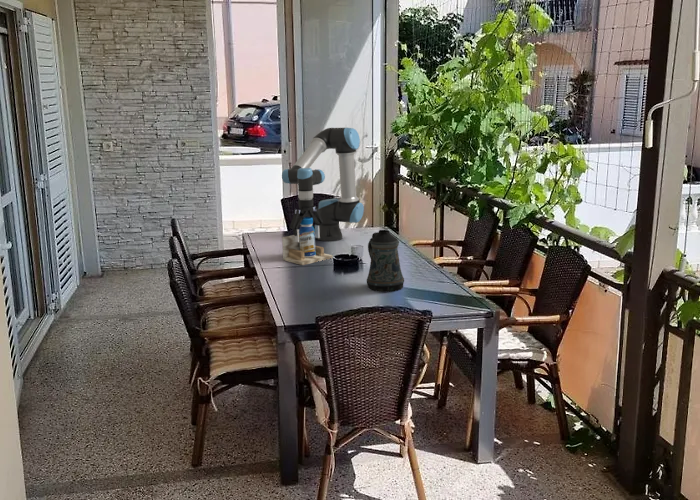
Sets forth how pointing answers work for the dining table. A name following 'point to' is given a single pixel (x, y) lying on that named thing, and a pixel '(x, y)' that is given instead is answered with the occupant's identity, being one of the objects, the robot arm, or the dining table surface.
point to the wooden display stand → (300, 252)
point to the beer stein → (384, 263)
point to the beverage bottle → (307, 237)
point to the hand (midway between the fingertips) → (307, 239)
